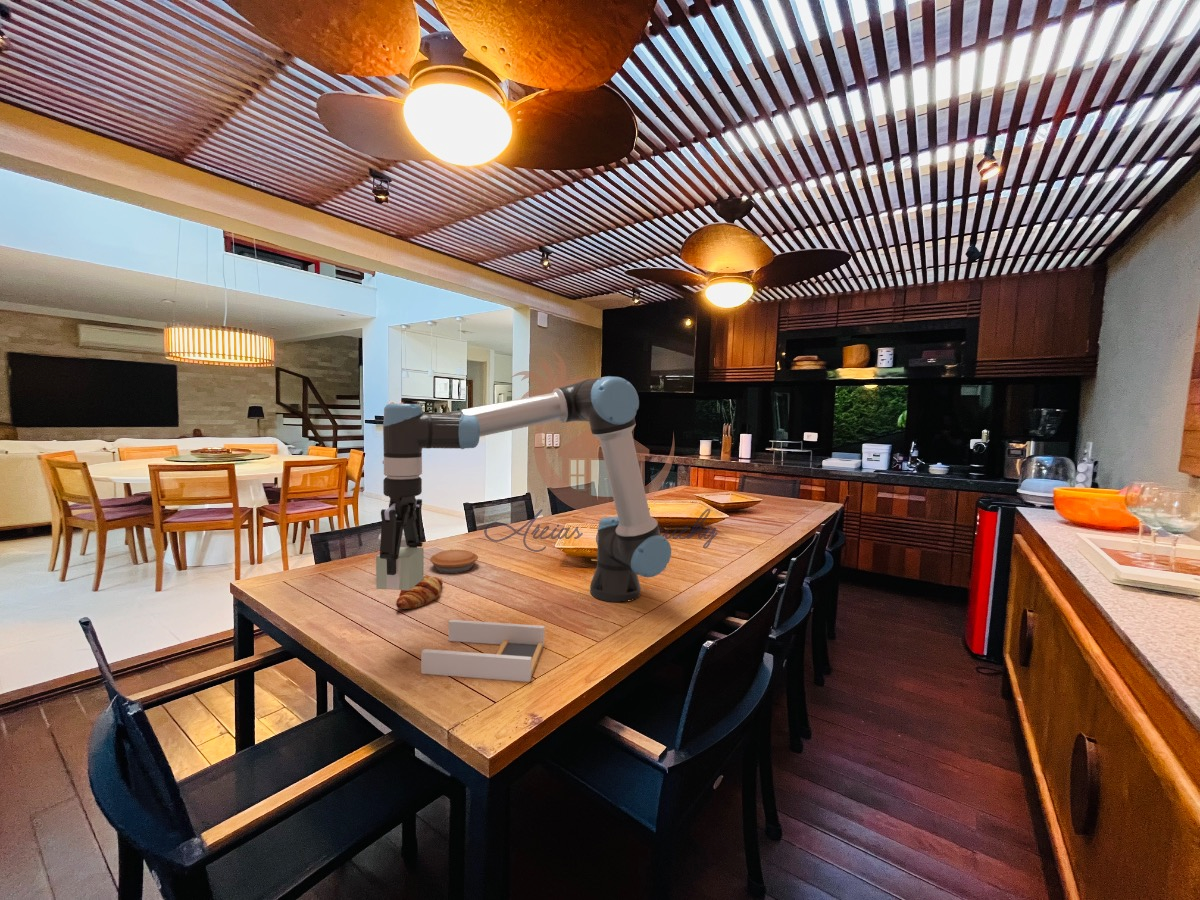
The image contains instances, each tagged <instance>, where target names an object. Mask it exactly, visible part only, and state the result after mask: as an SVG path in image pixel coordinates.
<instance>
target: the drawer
mask: <svg viewBox="0 0 1200 900" xmlns="http://www.w3.org/2000/svg"><path fill="white" fill-rule="evenodd" d="M543 649H544V646H543V643H538V645H531V644H517V643H508V640H504V641H503V643H502V644H500V646H499V648H498V650H497V652H496V653H495V654H499V655H512V656H526V657H532V658H531V678H532V677H533V675H532V674H534V672H535V669H536V666H537V664H538V663H539V662H538V661H539V659H540V657H541V653H542V652H543ZM541 651H542V652H541Z"/></svg>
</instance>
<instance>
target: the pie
mask: <svg viewBox="0 0 1200 900" xmlns="http://www.w3.org/2000/svg"><path fill="white" fill-rule="evenodd" d="M478 558H479V556H478V555H477V554H476V553H474V552H472V551H469V550H466V549H448V550H443V551H439V552H438V553H436V554H433V555H432V556H430V557H429V562H431V563H432V564H433V566H434V567H435V569H436V570H437V571H438V572H440V571H441V572H440V573H444V572H447V573H446V574H457V573H456V572H459V573H463V572H462V571H464V572H467V571H469V570H471V568H472V567H473V565H474V564H475V563H476V561H477V560H478ZM468 569H469V570H468ZM466 570H467V571H466Z"/></svg>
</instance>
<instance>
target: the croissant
mask: <svg viewBox="0 0 1200 900" xmlns="http://www.w3.org/2000/svg"><path fill="white" fill-rule="evenodd" d="M443 584H444V580H443V578H439V577H436V576H433V577H431V576H430V575H429V576H428V575H424V579H423V580H422V581H420V582H419V583H418V584H417V585H415V586H414V587H413V588H411V589H410V590H400V593H399V596H398V598H397V599H396V602H395V605H396V607H397V608H398V609H401V610H406V609H409V610H411V609H412V610H413V609H418V608H419V607H421V606H426V605H428V604H429V602H430V603H431V602H434V601H435V600H436V599H437V598H438V597H439V596H440V594H441V592H442V587H443ZM434 599H435V600H434ZM417 607H418V608H417Z"/></svg>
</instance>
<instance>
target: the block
mask: <svg viewBox="0 0 1200 900" xmlns="http://www.w3.org/2000/svg"><path fill="white" fill-rule="evenodd" d="M424 552H425V551H424V547H417V548H410V547H400V551H399V557H398V558H401V589H399V590H398V591H401V590H410V589H411V588H413V587H414V586H415V585H417V584H418V583H419V582H420V581H422V580H423V579H424V576H425V575H424V574H425V573H424V572H425V571H424V568H425V567H424V564H425V562H424V558H425V557H424V556H425V555H424V554H425V553H424ZM375 570H376V571H375V577H376V578H375V579H376V581H375V582H376V583H375V587H376V588H375V589H377V590H387V589H386V559H381V558H380V553H379V554H377V555H376V556H375ZM389 590H393V591H395V590H394V589H389Z"/></svg>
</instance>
